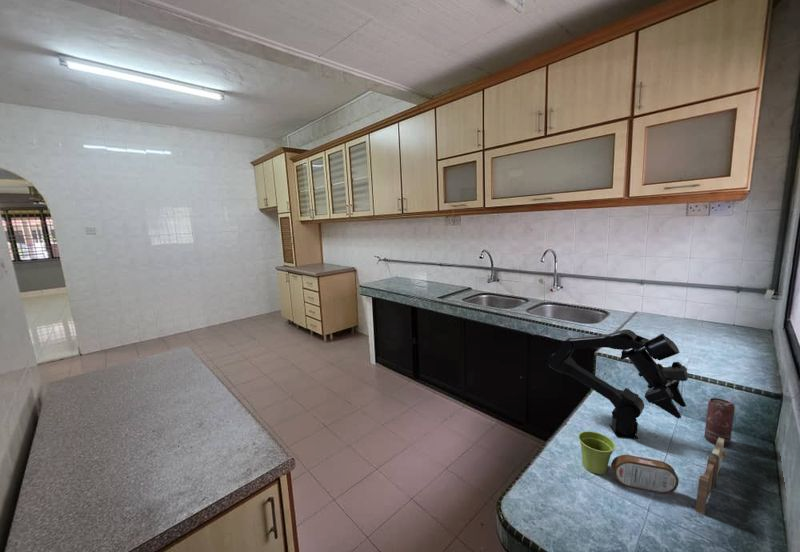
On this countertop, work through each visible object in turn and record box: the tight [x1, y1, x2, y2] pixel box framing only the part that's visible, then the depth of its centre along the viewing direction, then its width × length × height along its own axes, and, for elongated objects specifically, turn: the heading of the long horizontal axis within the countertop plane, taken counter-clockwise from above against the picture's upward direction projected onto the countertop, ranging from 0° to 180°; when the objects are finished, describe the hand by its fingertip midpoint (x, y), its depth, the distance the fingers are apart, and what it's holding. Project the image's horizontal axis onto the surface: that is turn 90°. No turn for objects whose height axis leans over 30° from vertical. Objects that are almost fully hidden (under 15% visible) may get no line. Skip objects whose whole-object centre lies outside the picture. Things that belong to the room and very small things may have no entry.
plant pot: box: [577, 430, 616, 475], centre depth 97 cm, size 9×9×9 cm
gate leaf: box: [708, 437, 729, 489], centre depth 92 cm, size 13×3×9 cm, turn 129°
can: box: [703, 397, 736, 448], centre depth 107 cm, size 6×6×14 cm
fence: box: [695, 456, 717, 515], centre depth 84 cm, size 12×2×9 cm, turn 129°
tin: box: [610, 454, 680, 494], centre depth 89 cm, size 15×3×8 cm, turn 71°
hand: (682, 412), depth 101 cm, fingers open, 9 cm apart
